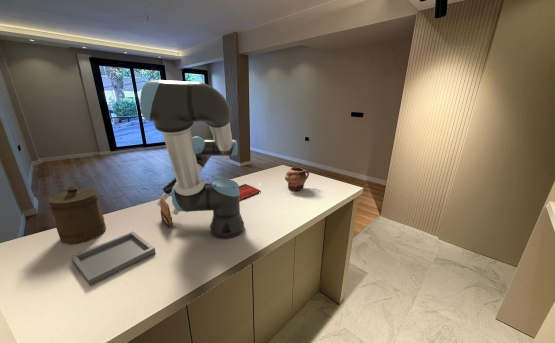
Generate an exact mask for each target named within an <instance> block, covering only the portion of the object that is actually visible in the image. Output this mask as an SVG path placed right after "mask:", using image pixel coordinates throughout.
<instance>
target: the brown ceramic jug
mask: <svg viewBox="0 0 555 343" xmlns="http://www.w3.org/2000/svg"><path fill="white" fill-rule="evenodd" d="M309 176H310V171H309V170H305V169H303V167H302V168H301V167H290V168H289V169H288V170H287V171H286V174H285V176H284V180H285V181H286V182H287V188H288V189H289V190H290V189H291V190H290V191H292V190H301V189H302V190H303V189H304V186H305V183H306V181H307V180H308V178H309ZM302 190H301V191H302Z"/></svg>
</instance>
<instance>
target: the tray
mask: <svg viewBox="0 0 555 343" xmlns="http://www.w3.org/2000/svg"><path fill="white" fill-rule="evenodd" d="M154 254H156V248H155V246H153V245H152V244H150V243H149V242H148V241H146V240H145V239H144V238H142V237H141V236H140V235H139V234H137V233H136V232H134V231H131V232H128V233H126V234H123V235H120V236H118V237H116V238H114V239H110V240H109V241H106V242H103V243H101V244H98V245H96V246H94V247H91V248H89V249H86V250H83V251H80V252H78V253H76V254H74V255H71V256H70V258H71V260H72V263H73V265H74V266H75V267H76V269H77V270H78V272H79V273H80V274H81V275H82V278H84V281H85V282H86V283H87V284H88V285H89V287H93V286H94V285H96V284H98V283H101V282H102V281H104V280H106V279H108V278H110V277H112V276H113V275H116V274H119V273H120V272H121V271H124V270H126V269H127V268H129V267H131V266H133V265H135V264H137V263H139V262H141V261H143V260H146V258H149V257H150V256H153V255H154Z"/></svg>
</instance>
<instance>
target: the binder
mask: <svg viewBox="0 0 555 343" xmlns="http://www.w3.org/2000/svg"><path fill="white" fill-rule="evenodd" d="M239 192H240V195H239V202H241V201H243V200H245V199H248V198H250V197H252V196H254V194H255V195H257V193H258V194H260V193H259V192H261V190H260V189H258V188H256V187H254V186H251V185H249V184H246V183H244V184H240V185H239ZM261 193H262V192H261ZM247 197H248V198H247Z"/></svg>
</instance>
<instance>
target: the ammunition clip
mask: <svg viewBox="0 0 555 343" xmlns="http://www.w3.org/2000/svg"><path fill="white" fill-rule="evenodd" d="M159 199H160V206H159V207H160V219H161V221H162V222H163V223H164V225H165V226H166V227H167V228H168V229H169V230H170V229H172V228H174V223H173V216H172V213H171V210H170V206H169V203H168V202H167V201H164V200H163V199H162V198H161V197H160V198H159Z"/></svg>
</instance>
